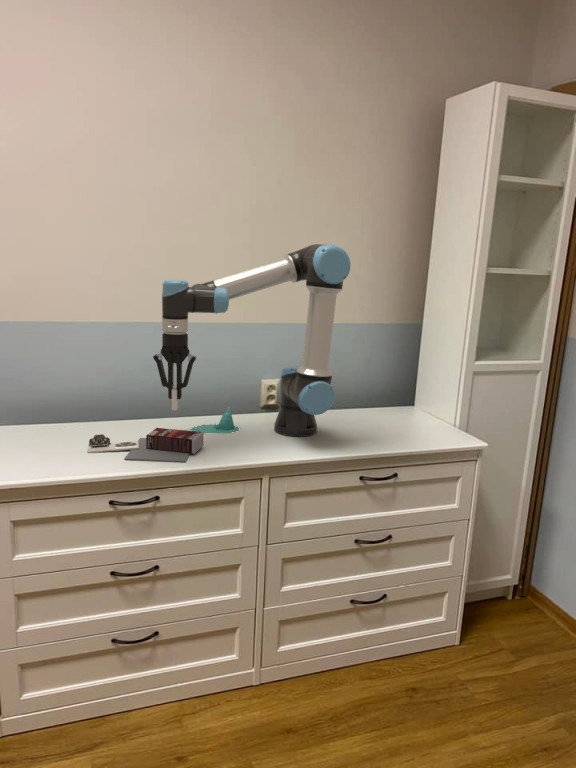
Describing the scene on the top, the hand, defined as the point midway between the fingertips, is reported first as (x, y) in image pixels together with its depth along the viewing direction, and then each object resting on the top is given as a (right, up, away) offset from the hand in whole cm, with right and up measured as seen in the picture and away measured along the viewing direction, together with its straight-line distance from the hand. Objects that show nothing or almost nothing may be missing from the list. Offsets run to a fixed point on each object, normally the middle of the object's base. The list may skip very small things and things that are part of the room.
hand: (174, 409), depth 185 cm
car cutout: (-19, -12, +3) cm, 23 cm away
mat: (-5, -13, +3) cm, 14 cm away
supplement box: (+7, -10, +3) cm, 13 cm away
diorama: (+9, -9, +28) cm, 30 cm away
